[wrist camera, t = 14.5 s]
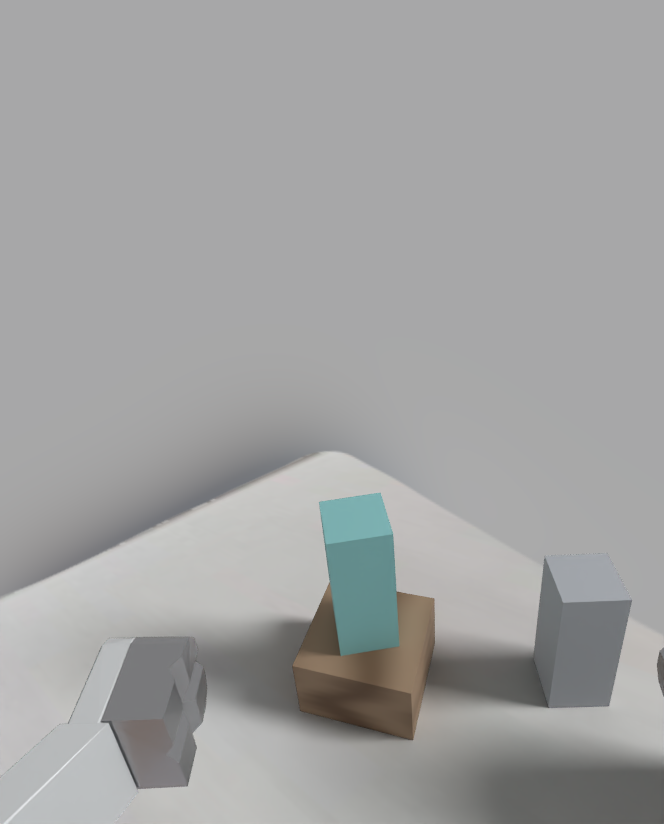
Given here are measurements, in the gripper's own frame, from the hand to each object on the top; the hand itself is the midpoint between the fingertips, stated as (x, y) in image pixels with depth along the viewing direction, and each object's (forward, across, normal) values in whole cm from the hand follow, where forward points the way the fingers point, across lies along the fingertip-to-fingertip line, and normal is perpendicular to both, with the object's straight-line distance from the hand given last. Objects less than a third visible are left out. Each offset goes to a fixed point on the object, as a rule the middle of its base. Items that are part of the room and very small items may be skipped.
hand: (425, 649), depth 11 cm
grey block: (+21, -12, +30) cm, 39 cm away
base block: (+22, +2, +30) cm, 37 cm away
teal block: (+22, +2, +25) cm, 34 cm away
